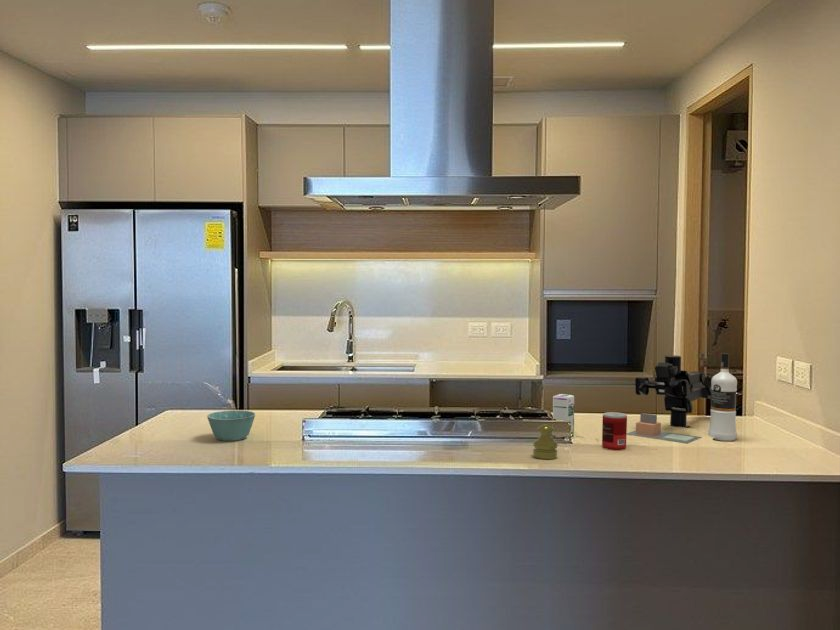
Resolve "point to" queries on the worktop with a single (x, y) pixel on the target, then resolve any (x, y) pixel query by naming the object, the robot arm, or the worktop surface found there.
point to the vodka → (723, 403)
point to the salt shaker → (545, 444)
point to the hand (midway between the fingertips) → (652, 390)
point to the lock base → (669, 437)
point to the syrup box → (564, 409)
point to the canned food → (614, 430)
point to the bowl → (231, 424)
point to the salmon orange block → (648, 425)
